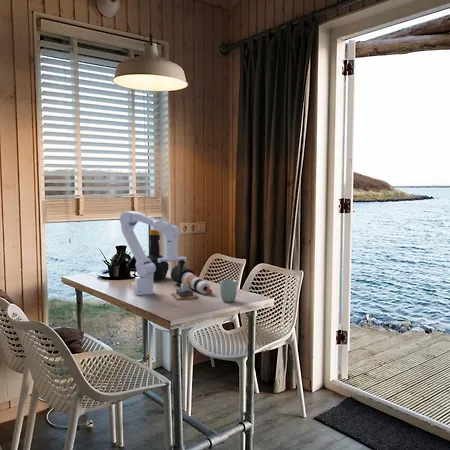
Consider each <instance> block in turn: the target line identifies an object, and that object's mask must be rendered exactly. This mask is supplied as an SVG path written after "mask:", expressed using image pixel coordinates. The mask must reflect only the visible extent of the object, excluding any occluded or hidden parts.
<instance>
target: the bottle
mask: <svg viewBox="0 0 450 450" xmlns="http://www.w3.org/2000/svg"><path fill="white" fill-rule="evenodd" d="M148 239H149V240H150V242H149V254H148V255H147V256H146V257H148V258H149V259H150V260H151V262H152V263H154V264H155V266H156V270H155V272H154V275H153V282H155V281H163V280H165V279H166V277H165V276H164V274H163V270H162V267H161V265H160V263H158V258H165V257H164V256H163V255H161V254H160V253H161V252H160V251H161V250H160V239H161V234H160V232H159V231H156V230H154V229H153V228H151V229H149V234H148ZM165 263H166V275H167V274H168V272H169V268H170V267H169V266H170V265H169V262H165Z"/></svg>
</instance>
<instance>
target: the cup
mask: <svg viewBox="0 0 450 450" xmlns="http://www.w3.org/2000/svg"><path fill="white" fill-rule="evenodd" d="M219 285H220V288H219V289H220V290H219V291H220V292H219V293H220V299H221V301H222V302H225V303H233V302H234V301H235V300H236V297H237V291H238V288H237V286H238V283H237V280H235V279H221V280H220V284H219Z"/></svg>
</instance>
